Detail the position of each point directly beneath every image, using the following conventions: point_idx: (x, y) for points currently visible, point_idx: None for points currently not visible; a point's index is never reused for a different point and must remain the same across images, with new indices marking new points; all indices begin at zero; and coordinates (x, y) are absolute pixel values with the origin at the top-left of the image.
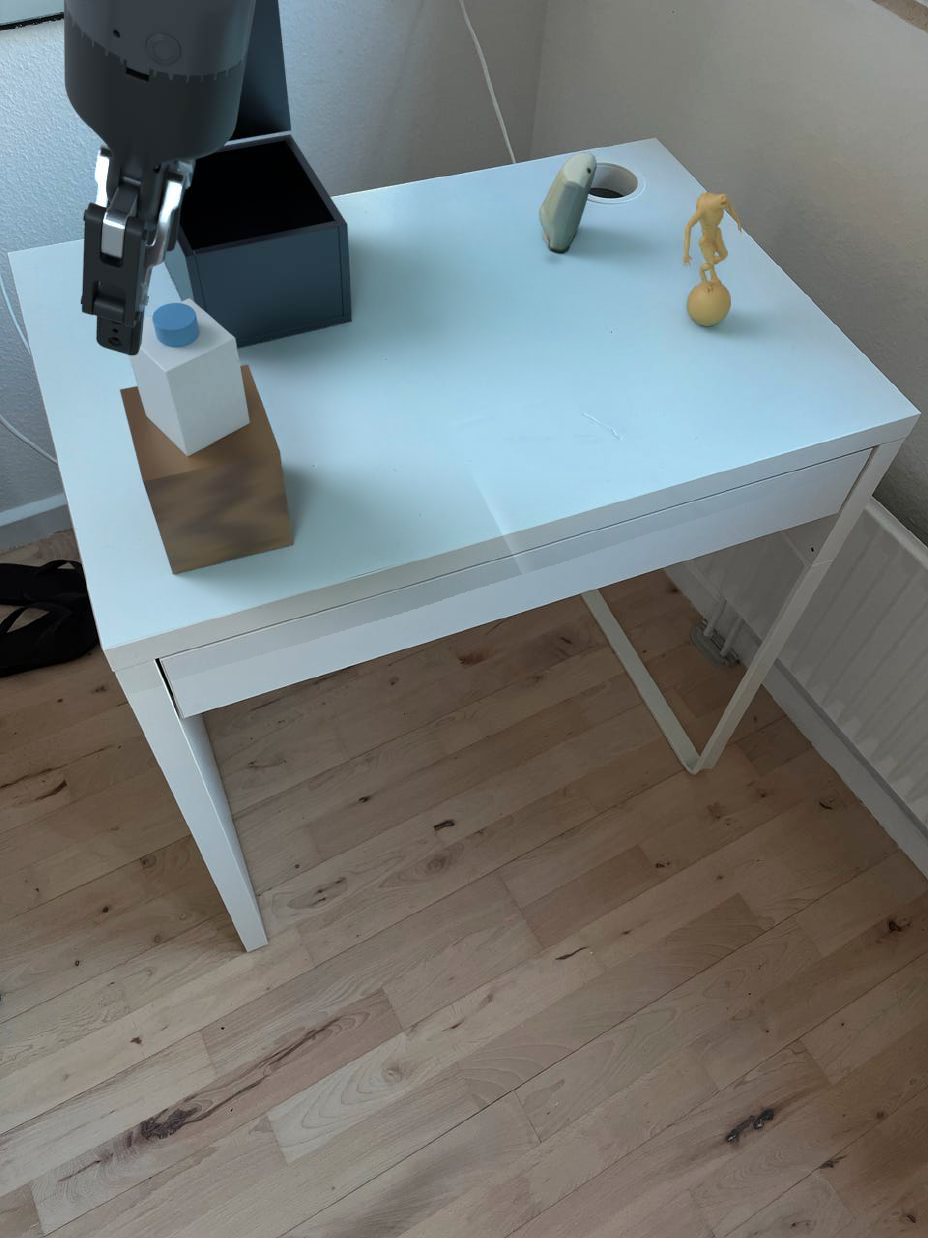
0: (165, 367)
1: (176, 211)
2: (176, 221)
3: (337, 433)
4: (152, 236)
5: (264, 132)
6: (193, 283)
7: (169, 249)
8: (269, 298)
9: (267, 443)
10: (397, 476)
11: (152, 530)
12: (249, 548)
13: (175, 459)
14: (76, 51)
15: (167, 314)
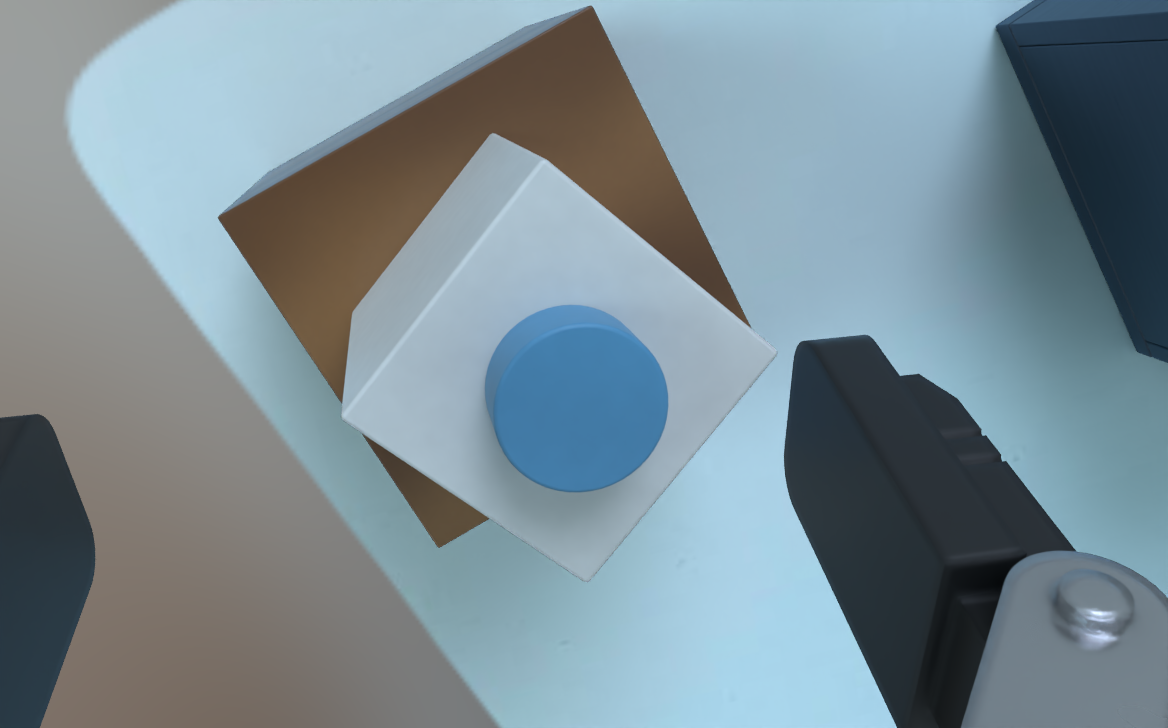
0: (364, 408)
1: (873, 674)
2: (850, 623)
3: (772, 416)
4: (811, 431)
5: None
6: (1156, 21)
7: (788, 473)
8: (1152, 201)
9: (458, 509)
10: (664, 572)
11: (390, 76)
12: None
13: (331, 282)
14: None
15: (585, 383)
